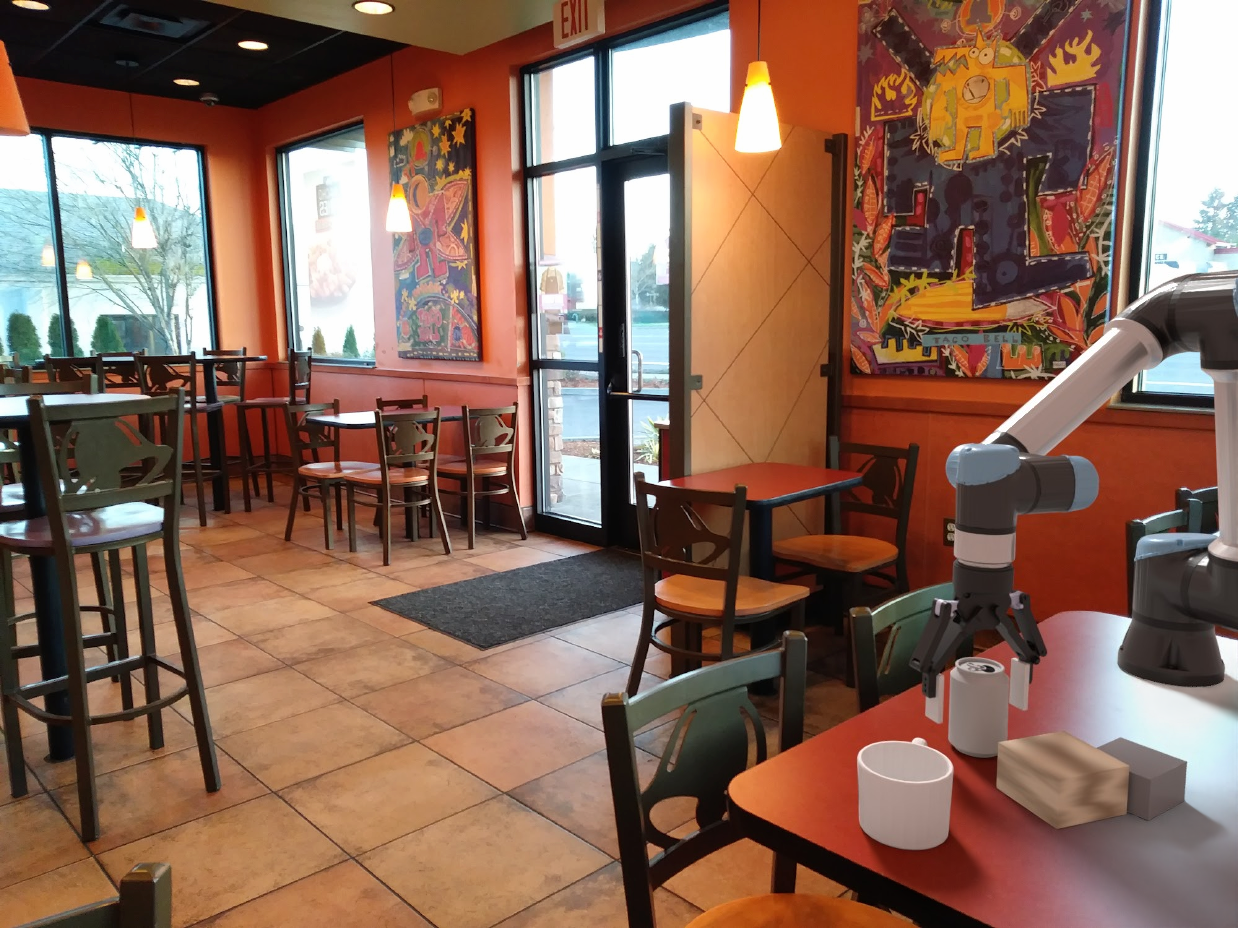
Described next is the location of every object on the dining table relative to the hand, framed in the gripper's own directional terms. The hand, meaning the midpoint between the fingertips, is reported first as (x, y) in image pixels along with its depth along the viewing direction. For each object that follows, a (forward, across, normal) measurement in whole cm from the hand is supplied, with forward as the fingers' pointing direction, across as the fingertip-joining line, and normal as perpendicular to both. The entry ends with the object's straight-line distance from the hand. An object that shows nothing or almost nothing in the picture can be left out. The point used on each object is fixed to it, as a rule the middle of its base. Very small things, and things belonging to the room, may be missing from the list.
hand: (976, 712), depth 122 cm
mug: (+6, +20, +13) cm, 24 cm away
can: (+5, 0, 0) cm, 5 cm away
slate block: (+5, -9, +17) cm, 20 cm away
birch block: (+5, 0, +15) cm, 16 cm away
